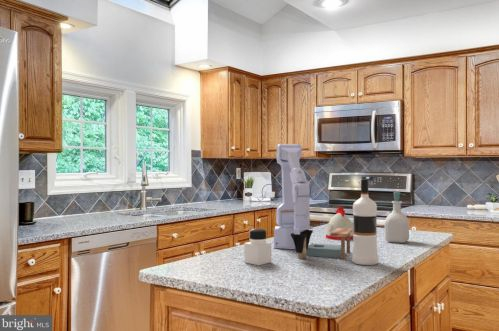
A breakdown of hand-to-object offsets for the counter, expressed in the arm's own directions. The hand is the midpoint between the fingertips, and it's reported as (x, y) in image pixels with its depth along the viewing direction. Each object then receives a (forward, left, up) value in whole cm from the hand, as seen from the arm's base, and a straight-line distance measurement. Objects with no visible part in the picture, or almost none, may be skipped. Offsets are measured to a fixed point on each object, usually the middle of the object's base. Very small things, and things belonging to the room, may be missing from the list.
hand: (302, 250), depth 162 cm
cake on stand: (+5, +52, -3) cm, 52 cm away
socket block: (+6, +11, -3) cm, 13 cm away
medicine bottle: (-13, -12, -3) cm, 18 cm away
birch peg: (0, 0, -3) cm, 3 cm away
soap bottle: (+31, +50, -3) cm, 59 cm away
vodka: (+23, +1, -3) cm, 23 cm away
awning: (+13, +11, -3) cm, 17 cm away
